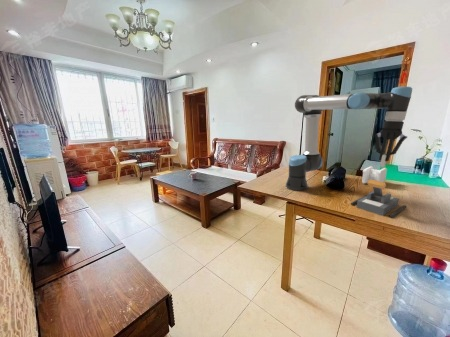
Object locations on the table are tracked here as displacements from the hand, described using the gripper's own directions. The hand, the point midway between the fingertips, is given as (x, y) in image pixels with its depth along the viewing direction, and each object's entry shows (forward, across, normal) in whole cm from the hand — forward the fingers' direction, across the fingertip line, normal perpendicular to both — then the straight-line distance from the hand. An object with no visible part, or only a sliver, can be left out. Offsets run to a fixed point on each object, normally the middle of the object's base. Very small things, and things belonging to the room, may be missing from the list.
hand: (382, 166), depth 99 cm
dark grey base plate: (+23, -2, -2) cm, 23 cm away
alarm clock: (+24, +38, -36) cm, 58 cm away
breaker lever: (+18, -1, -3) cm, 18 cm away
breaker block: (+23, -2, -2) cm, 23 cm away
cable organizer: (+22, +14, -43) cm, 51 cm away
